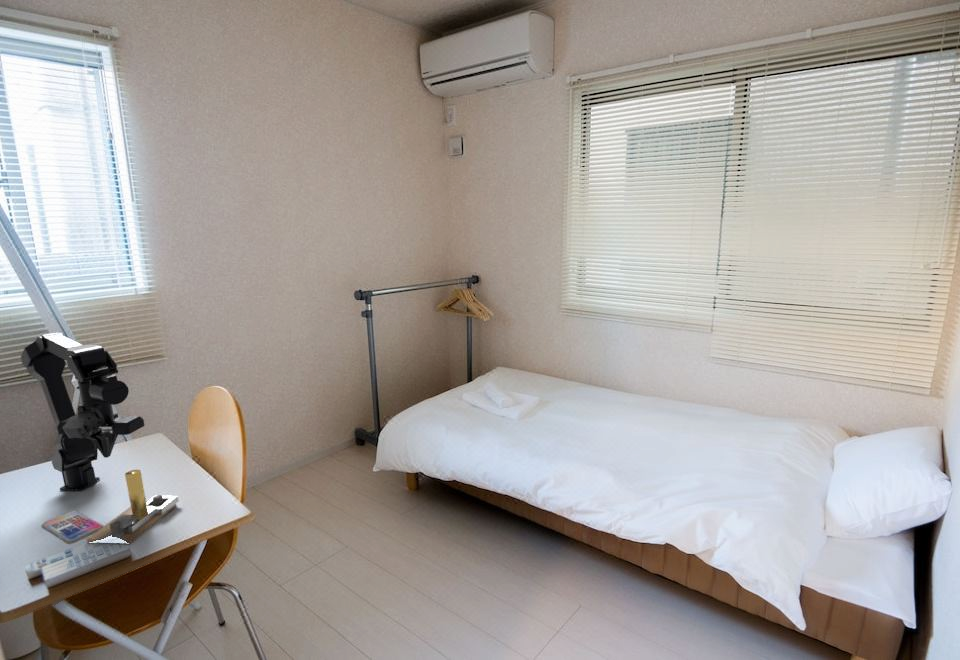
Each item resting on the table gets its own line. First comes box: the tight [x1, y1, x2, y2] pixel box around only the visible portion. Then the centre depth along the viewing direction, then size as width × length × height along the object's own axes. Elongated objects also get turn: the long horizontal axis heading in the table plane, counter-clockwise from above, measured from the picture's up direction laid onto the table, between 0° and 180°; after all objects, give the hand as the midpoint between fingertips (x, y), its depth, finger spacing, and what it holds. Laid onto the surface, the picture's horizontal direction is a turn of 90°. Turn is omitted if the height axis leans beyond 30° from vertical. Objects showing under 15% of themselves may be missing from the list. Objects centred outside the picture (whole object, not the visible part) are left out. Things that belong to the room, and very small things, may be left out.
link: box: [123, 469, 179, 533], centre depth 123 cm, size 14×6×12 cm, turn 175°
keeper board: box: [86, 494, 177, 545], centre depth 124 cm, size 10×16×4 cm, turn 175°
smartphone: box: [41, 510, 105, 544], centre depth 123 cm, size 7×1×15 cm
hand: (107, 456), depth 131 cm, fingers closed
